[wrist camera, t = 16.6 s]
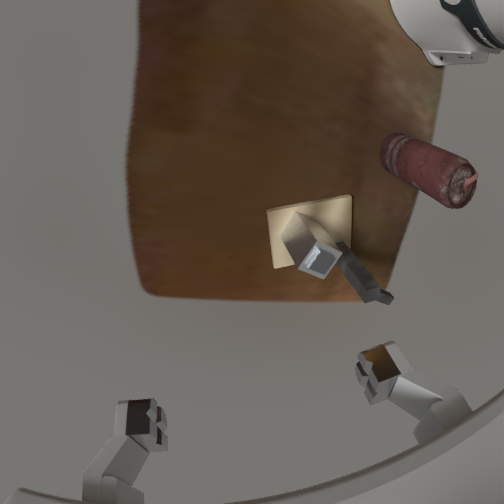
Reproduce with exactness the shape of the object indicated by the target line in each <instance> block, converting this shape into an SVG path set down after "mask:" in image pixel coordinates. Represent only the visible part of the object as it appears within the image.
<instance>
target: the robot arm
mask: <svg viewBox="0 0 504 504" xmlns="http://www.w3.org/2000/svg"><path fill="white" fill-rule="evenodd" d="M390 2H391V6H392V9H393V12H394V14H395V16H396V18H397V20H398V22H399V24H400V25H401V27H402V28H403V30H404V31H405V32H406V34H407V35H408V36H409V37H410V38H411V39H412V40H413V41H414V42H415V43H416V44H417V45H418V46H419V47H420V48H421V49H422V50H423V52H424V54H425V56H426V58H427V59H428V61H429V62H430V64H431V65H433V66H441V65H454V64H473V63H474V64H475V63H486V62H487V59H488V55H489V53H497V54H499V53H500V52H501V50H504V0H390ZM358 360H359V362H358V363H357V364H356V368H355V370H356V376H357V379H358V381H359V383H360V385H362V386H364V387H366V388H365V392H364V394H365V395H366V398H367V399H368V402H369V404H370V405H372V404H375V403H378V402H381V401H383V400H386V399H388V398H389V400H390V401H391V402H393V403H394V404H396V405H397V406H399V407H400V408H402V409H403V410H405V411H406V412H408V413H410V414H411V415H412V416H414V417H415V418H417V419H418V420H420V422H419V423H418V425H417V426H416V427H415V429H414V431H413V433H414V435H415V437H416V439H417V441H418V443H419V444H418V445H416V446H414V447H412V448H410V449H408V450H406V451H404V452H402V453H399V454H397V455H395V456H393V457H391V458H388V459H386V460H384V461H382V462H379V463H377V464H374V465H372V466H370V467H367V468H365V469H362V470H359V471H357V472H354V473H351V474H349V475H346V476H343V477H340V478H337V479H334V480H331V481H328V482H324V483H321V484H318V485H314V486H311V487H307V488H303V489H299V490H296V491H291V492H287V493H283V494H278V495H273V496H269V497H264V498H258V499H252V500H247V501H239V502H232V503H224V504H504V389H503V390H502V391H500V392H499V393H498V394H497V395H495V396H494V397H493V398H491V399H490V400H489V401H487V402H486V403H485V404H483V405H482V406H480V407H479V408H477V409H476V410H475V411H472V409H471V408H470V406H469V405H468V403H467V401H466V400H465V398H464V397H463V395H462V394H461V392H460V390H459V389H458V388H456V387H453V386H451V385H449V384H447V383H445V382H443V381H441V380H439V379H437V378H435V377H433V376H431V375H428V374H427V373H424V372H423V371H420V370H419V369H417V368H414V369H412V367H411V366H410V364H409V363H408V361H407V360H406V358H405V357H404V355H403V353H402V352H401V350H400V349H399V347H398V346H397V344H396V343H395V342H394V341H389V342H387V343H384V344H381V345H378V346H375V347H373V348H370V349H367V350H364V351H362V352H360V353H359V354H358ZM166 428H167V420H166V415H165V413H164V411H163V409H162V408H161V407H159V406H157V401H156V400H155V399H154V398H148V399H138V400H124V401H118V403H117V406H116V416H115V427H114V436H110V438H109V439H108V440H107V442H106V443H105V445H104V446H103V447H102V449H101V450H100V451H99V453H98V454H97V455H96V457H95V458H94V460H93V461H92V462H91V464H90V465H89V466H88V468H87V469H86V471H85V472H84V473H83V489H82V501H80V500H75V499H69V498H64V497H59V496H54V495H50V494H45V493H42V492H38V491H34V490H30V489H27V488H22V487H21V488H17V489H16V490H15V491H14V492H13V493H12V494H11V495H10V496H9V497H8V499H7V500H6V501H5V502H4V503H3V504H144V494H143V493H142V492H141V491H140V490H137V489H136V488H134V487H132V485H133V483H134V481H135V479H136V478H137V476H138V474H139V472H140V470H141V468H142V466H143V464H144V462H145V461H146V459H147V457H148V455H149V452H161V451H168V441H167V436H166V435H165V434H164V431H165V430H166Z"/></svg>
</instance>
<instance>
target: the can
mask: <svg viewBox="0 0 504 504" xmlns="http://www.w3.org/2000/svg"><path fill="white" fill-rule="evenodd" d="M381 161H382V165H383V166H384V168H385V169H386V170H387V171H389V172H390V173H392V174H393V175H395V176H397V177H399V178H400V179H402V180H404V181H406V182H407V183H409V184H411V185H412V186H414V187H416V188H417V189H419V190H421V191H422V192H424V193H425V194H427V195H429V196H431V197H432V198H433V199H435V200H437V201H438V202H440V203H441V204H443V205H444V206H446V207H448V208H456V209H459V208H462V207H464V206H465V205H467V204H468V202H469V201H470V200H471V198H472V197H473V195H474V192H475V189H476V183H477V178H478V174H477V171H475V169H474V167H473V166H472V165H471V164H470V163H469V161H468V160H466V159H464V158H462V157H460V156H458V155H455V154H453V153H451V152H449V151H446V150H444V149H441V148H439V147H437V146H434V145H431V144H429V143H426V142H424V141H421V140H418V139H416V138H413V137H410V136H407V135H405V134H402V133H395V134H393V135H390V136H389V137H388V138H387V139H386V140H385V141H384V143H383V145H382V147H381Z"/></svg>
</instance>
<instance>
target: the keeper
mask: <svg viewBox="0 0 504 504" xmlns="http://www.w3.org/2000/svg"><path fill="white" fill-rule="evenodd" d="M266 211H267V219H268V227H269V235H270V243H271V251H272V260H273V266H274V269H276V268H280V267H285V266H289V265H294V264H295V263H294V261H293V259H292V258H291V256H290V254H289V252H288V250H287V248H286V246H285V245H284V243H283V241H282V239H281V237H280V235H281V233H282V231H283V230H284V228H285V227H286V225H287V223H288V222H289V220H290V219H291V217H292V215H293V214H294V212H295V211H296V212H298V213H300V214H302V215H304V216H306V217H308V218H310V219H312V220H314V221H316V222H318V223H319V224H320V225H321V227H322V228H323V229H324V230H325V231H326V233H327V234H328V235H329V236H330V238H331V239H332V240H333V241H334V242H335V244H336V245H337V246H338V247H339V249H340V250H341V251H342V252H343V253H342V255H341V256H340V258H339V259H338V260H337V262H336V263H337V265H338V266H339V267H340V269H341V270H342V271H343V273H344V274H345V276H346V277H347V278H348V280H349V281H350V283H351V284H352V286H353V287H354V288H355V290H356V291H357V293H358V294H359V296H360V297H361V298H362V300H363V301H364V303H367V302H371V301H374V300H376V301H379V302H381V303H384V304H387V305H389V304H390V303H391V302H392V301H393V299H394V297H393V296H392V295H391V293H390V292H387V291H385V290H382V289H380V288H381V286H380V285H379V284H378V283H377V281H376V280H375V279H374V278H373V276H372V275H371V274H370V273H369V271H368V270H367V269H366V268H365V267H364V265H363V264H362V263H361V262H360V260H359V259H358V258H357V257H356V256H355V254H354V253H353V252H352V251H351V222H352V196H351V195H343V196H337V197H331V198H325V199H320V200H314V201H309V202H303V203H298V204H292V205H287V206H282V207H277V208H271V209H266Z"/></svg>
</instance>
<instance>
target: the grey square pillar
mask: <svg viewBox="0 0 504 504" xmlns="http://www.w3.org/2000/svg"><path fill="white" fill-rule="evenodd" d="M280 237H281V239H282V241H283V243H284V245H285V246H286V248H287V250H288V252H289V254H290V256H291V258H292V259H293V261H294V263H295V265H296V267H297V269H299V270H301V271H304V272H307V273H309V274H312V275H314V276H317V277H319V278H322V279H324V278H325V277H326V276H327V274H328V273H329V271H330V270H331V269H332V267H333V266H334V265H335V263H336V262H337V260H338V259H339V258H340V256H341V255H342V253H343V252H342V251H341V250H340V249H339V247H338V246H337V245H336V244H335V242H334V241H333V240H332V239H331V238H330V236H329V235H328V234H327V233H326V231H325V230H324V229H323V228H322V227H321V225H320V224H319V223H318V222H316V221H314V220H312V219H310V218H308V217H306V216H304V215H302V214H300V213H298V212H296V211H295V212H294V214H293V215H292V217H291V219H290V220H289V222H288V223H287V225H286V227H285V228H284V230H283V231H282V233H281V235H280Z"/></svg>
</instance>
